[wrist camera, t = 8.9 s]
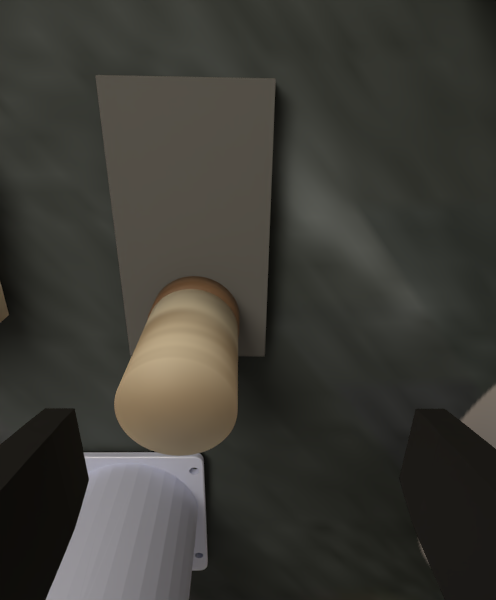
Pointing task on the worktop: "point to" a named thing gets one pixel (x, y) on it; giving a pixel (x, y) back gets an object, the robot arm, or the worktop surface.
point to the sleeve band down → (183, 370)
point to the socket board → (3, 306)
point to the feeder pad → (190, 189)
